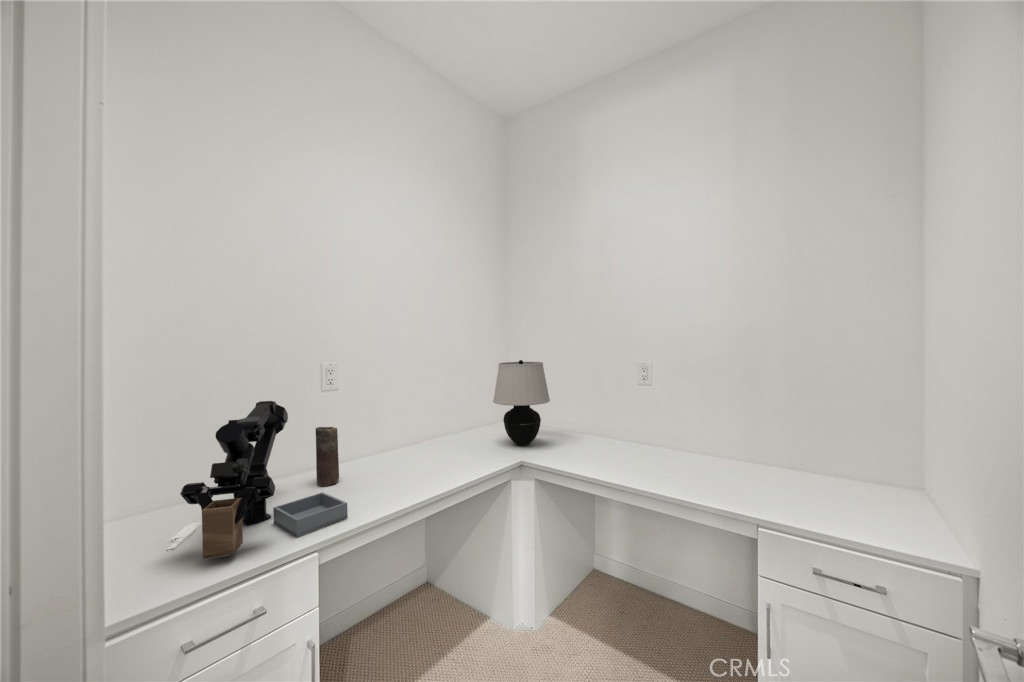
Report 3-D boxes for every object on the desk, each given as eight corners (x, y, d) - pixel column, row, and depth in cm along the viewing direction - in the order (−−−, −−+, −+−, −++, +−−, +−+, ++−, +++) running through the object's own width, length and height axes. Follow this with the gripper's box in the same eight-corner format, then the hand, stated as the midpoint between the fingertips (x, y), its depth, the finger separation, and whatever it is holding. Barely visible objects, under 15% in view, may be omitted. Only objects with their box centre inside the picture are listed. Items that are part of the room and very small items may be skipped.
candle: (317, 481, 150) (315, 426, 150) (339, 478, 153) (337, 424, 153) (316, 488, 143) (315, 430, 143) (339, 484, 146) (338, 428, 146)
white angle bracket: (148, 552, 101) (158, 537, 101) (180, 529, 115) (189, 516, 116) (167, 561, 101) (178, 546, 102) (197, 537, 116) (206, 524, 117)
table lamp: (497, 437, 212) (496, 359, 212) (551, 437, 209) (549, 358, 209) (489, 452, 185) (487, 362, 185) (550, 452, 182) (548, 361, 182)
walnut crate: (214, 546, 100) (213, 500, 100) (242, 542, 101) (241, 497, 101) (202, 558, 94) (201, 510, 94) (233, 554, 96) (231, 507, 96)
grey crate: (273, 523, 116) (273, 507, 116) (322, 507, 127) (322, 492, 127) (297, 537, 107) (296, 520, 107) (347, 518, 118) (347, 502, 118)
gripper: (183, 450, 99) (158, 515, 89) (270, 444, 104) (256, 505, 93) (199, 473, 107) (178, 535, 96) (280, 466, 112) (268, 525, 101)
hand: (220, 525), depth 96 cm, fingers closed on walnut crate, 6 cm apart
